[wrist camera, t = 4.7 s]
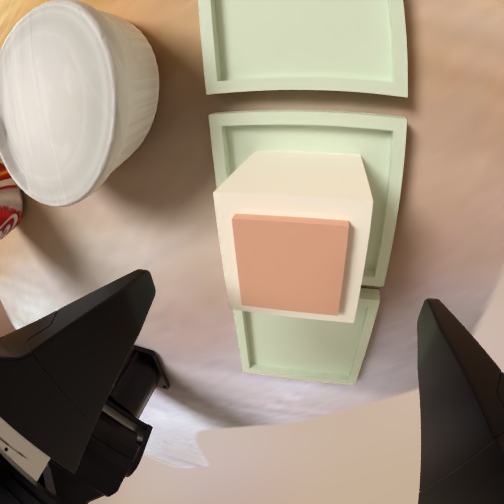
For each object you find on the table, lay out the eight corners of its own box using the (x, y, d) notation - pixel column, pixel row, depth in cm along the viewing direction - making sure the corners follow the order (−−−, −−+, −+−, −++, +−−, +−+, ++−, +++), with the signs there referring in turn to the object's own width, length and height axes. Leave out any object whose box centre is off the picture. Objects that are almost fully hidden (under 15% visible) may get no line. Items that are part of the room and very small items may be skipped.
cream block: (352, 247, 16) (353, 330, 11) (261, 239, 17) (226, 315, 12) (360, 154, 13) (374, 206, 8) (255, 150, 14) (208, 197, 9)
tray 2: (382, 276, 16) (383, 286, 16) (232, 262, 19) (227, 272, 18) (402, 116, 12) (407, 119, 11) (216, 112, 14) (208, 114, 13)
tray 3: (355, 375, 22) (354, 385, 21) (246, 362, 24) (242, 371, 23) (379, 289, 17) (380, 300, 16) (234, 275, 19) (229, 285, 18)
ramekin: (30, 86, 15) (-26, 103, 11) (122, -28, 10) (56, -41, 6) (96, 201, 19) (45, 239, 15) (217, 110, 14) (164, 130, 10)
